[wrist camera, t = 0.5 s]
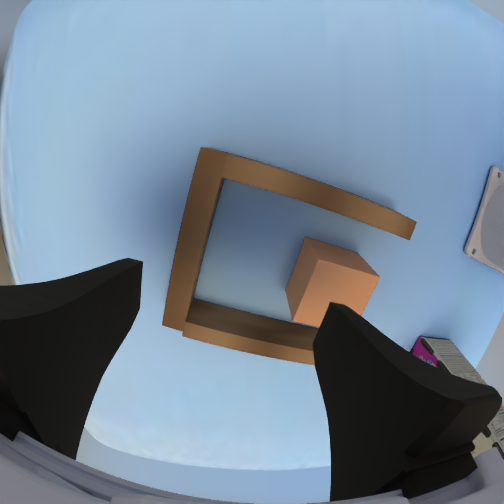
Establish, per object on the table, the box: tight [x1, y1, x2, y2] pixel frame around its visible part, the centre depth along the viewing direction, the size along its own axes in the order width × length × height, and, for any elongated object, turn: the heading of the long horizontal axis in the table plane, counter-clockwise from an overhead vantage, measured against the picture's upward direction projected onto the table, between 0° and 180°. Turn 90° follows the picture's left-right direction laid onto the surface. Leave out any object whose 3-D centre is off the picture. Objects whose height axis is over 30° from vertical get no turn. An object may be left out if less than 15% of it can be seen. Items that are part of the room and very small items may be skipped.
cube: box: [285, 237, 380, 327], centre depth 17 cm, size 4×4×4 cm
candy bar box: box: [410, 337, 504, 460], centre depth 16 cm, size 11×5×16 cm, turn 167°
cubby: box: [162, 147, 417, 365], centre depth 17 cm, size 13×11×3 cm
